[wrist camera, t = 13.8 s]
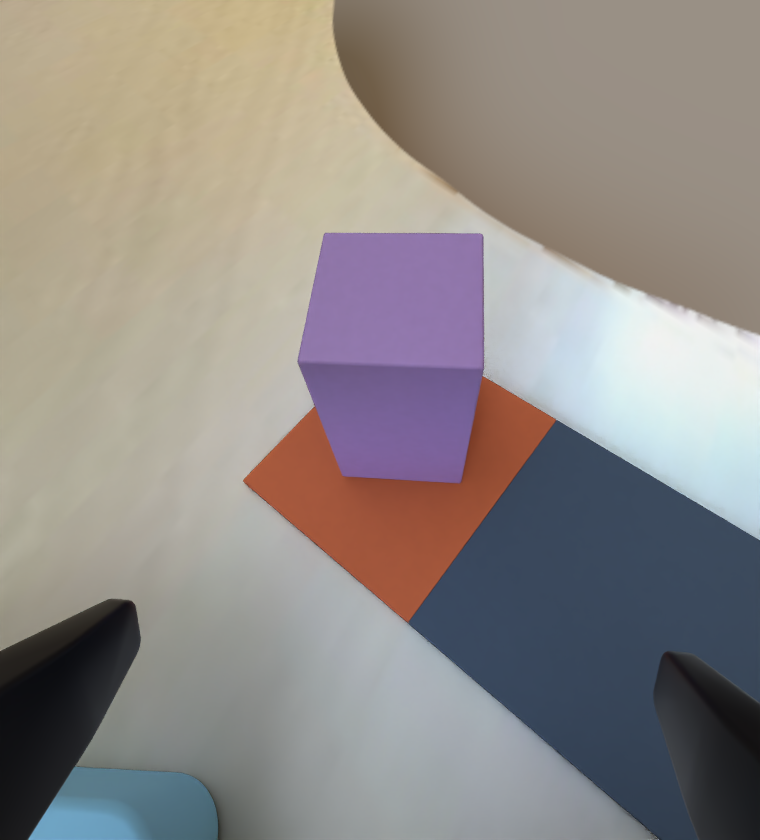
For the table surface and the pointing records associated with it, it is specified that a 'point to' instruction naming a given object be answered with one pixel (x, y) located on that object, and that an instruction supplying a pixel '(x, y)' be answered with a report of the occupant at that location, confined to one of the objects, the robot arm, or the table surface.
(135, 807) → the data package
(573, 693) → the mat
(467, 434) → the block
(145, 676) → the table surface
